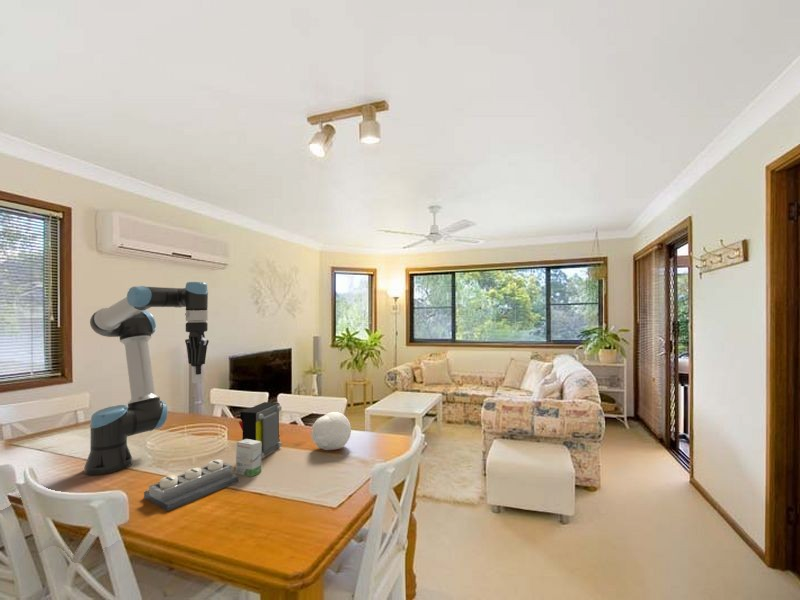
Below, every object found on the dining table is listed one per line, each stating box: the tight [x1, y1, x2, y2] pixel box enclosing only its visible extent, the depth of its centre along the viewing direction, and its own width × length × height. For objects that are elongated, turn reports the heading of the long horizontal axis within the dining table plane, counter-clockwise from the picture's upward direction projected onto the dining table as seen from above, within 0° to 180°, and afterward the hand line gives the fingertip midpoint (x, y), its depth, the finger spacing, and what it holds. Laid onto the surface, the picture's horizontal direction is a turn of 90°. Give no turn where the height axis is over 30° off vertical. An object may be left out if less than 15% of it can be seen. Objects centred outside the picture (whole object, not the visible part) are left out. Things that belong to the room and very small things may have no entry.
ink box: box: [235, 439, 262, 477], centre depth 145 cm, size 9×5×12 cm, turn 65°
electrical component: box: [238, 401, 283, 460], centre depth 164 cm, size 18×10×20 cm, turn 166°
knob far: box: [207, 459, 224, 472], centre depth 138 cm, size 5×5×4 cm
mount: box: [143, 461, 239, 512], centre depth 131 cm, size 16×24×5 cm, turn 146°
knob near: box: [159, 474, 178, 490], centre depth 124 cm, size 5×5×4 cm
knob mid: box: [184, 467, 201, 480], centre depth 131 cm, size 5×5×4 cm
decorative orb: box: [311, 411, 352, 451], centre depth 168 cm, size 20×18×16 cm
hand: (196, 382), depth 146 cm, fingers closed
